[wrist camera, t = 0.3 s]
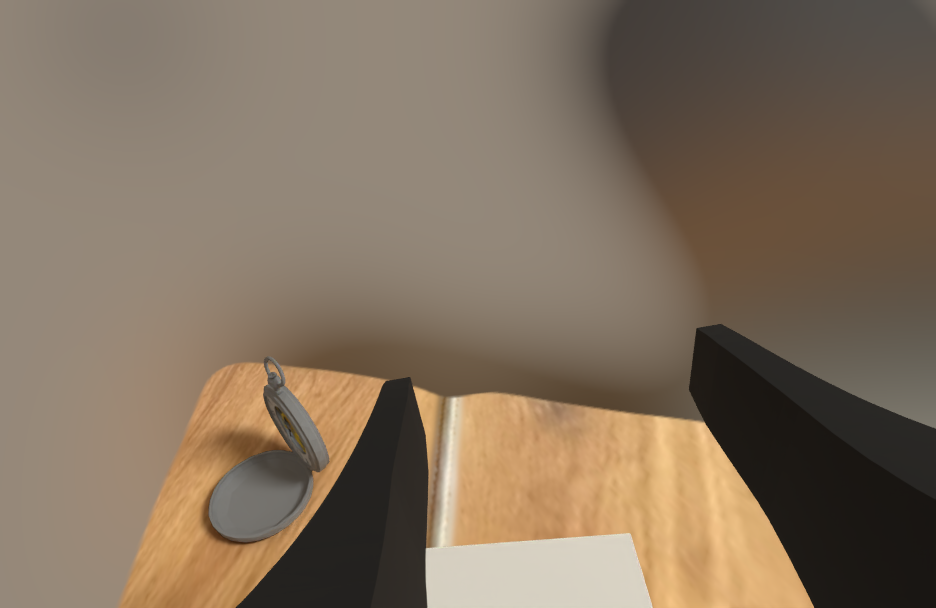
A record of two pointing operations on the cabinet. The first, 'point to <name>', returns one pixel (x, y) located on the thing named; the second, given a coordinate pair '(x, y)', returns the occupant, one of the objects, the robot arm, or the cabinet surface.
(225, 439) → the cabinet surface
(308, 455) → the pocket watch
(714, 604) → the cabinet surface
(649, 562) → the cabinet surface
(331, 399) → the cabinet surface
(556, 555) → the board
